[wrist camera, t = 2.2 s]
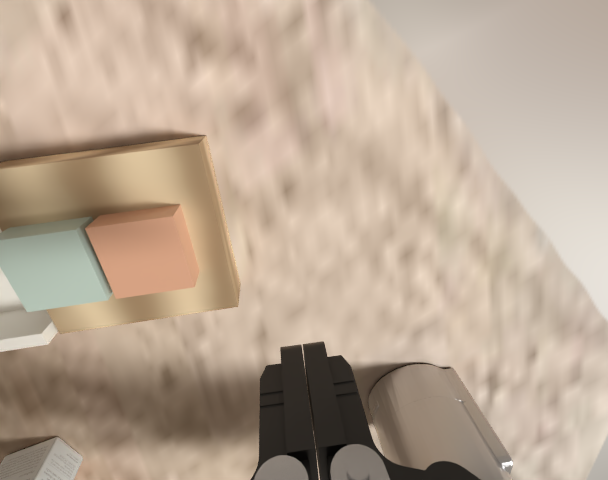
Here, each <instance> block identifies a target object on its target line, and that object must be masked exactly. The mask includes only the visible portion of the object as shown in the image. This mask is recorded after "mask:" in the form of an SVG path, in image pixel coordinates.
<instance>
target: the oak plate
mask: <svg viewBox="0 0 608 480" xmlns="http://www.w3.org/2000/svg"><path fill="white" fill-rule="evenodd" d="M178 204H181V208H182V211H183V215H184V218H185V221H186V225H187V228H188V232H189V235H190V239H191V242H192V246H193V249H194V253H195V256H196V259H197V263H198V266H199V270H200V272H199V275H198V279H197V282H196V285H195V287H193V288H186V289H180V290H173V291H166V292H160V293H153V294H146V295H140V296H133V297H126V298H120V299H116V298H115V296H114V293H113V294H112V295H111V297H110V298H109V300H106V301H100V302H93V303H86V304H80V305H73V306H66V307H60V308H53V309H46V310H47V312H48V314H49V315H50V317H51V319H52V321H53V322H54V324H55V326H56V328H57V330H58V331H59V333H60V334H63V333H70V332H76V331H83V330H89V329H96V328H102V327H109V326H115V325H122V324H128V323H135V322H141V321H148V320H154V319H161V318H167V317H174V316H180V315H187V314H193V313H200V312H206V311H213V310H219V309H226V308H232V307H238V303H239V293H240V280H239V276H238V272H237V267H236V263H235V259H234V254H233V250H232V245H231V241H230V237H229V232H228V228H227V224H226V219H225V215H224V211H223V206H222V202H221V198H220V193H219V189H218V185H217V180H216V176H215V171H214V167H213V163H212V158H211V154H210V150H209V145H208V141H207V137H206V136H199V137H191V138H183V139H175V140H167V141H159V142H151V143H144V144H136V145H128V146H120V147H112V148H104V149H96V150H89V151H81V152H73V153H65V154H57V155H49V156H41V157H34V158H26V159H18V160H10V161H4V162H1V163H0V229H1V231H2V232H3V231H4V230H6V229H8V228H11V227H18V226H25V225H33V224H40V223H47V222H54V221H62V220H69V219H76V218H84V217H91V216H92V218H93V221H94V220H95V219H96V218H97V217H98V216H100V215H106V214H113V213H120V212H127V211H135V210H142V209H149V208H157V207H164V206H171V205H178Z"/></svg>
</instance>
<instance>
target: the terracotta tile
mask: <svg viewBox="0 0 608 480" xmlns="http://www.w3.org/2000/svg"><path fill="white" fill-rule="evenodd" d="M85 230H86V232H87V234H88V237H89V239H90V241H91V243H92V246H93V248H94V250H95V252H96V255H97V257H98V259H99V262H100V264H101V266H102V268H103V271H104V273H105V275H106V277H107V280H108V282H109V284H110V286H111V289H112V291H113V293H114V296H115V298H116V299H120V298H126V297H133V296H140V295H146V294H153V293H160V292H166V291H173V290H180V289H186V288H193V287H195V285H196V282H197V279H198V275H199V272H200V270H199V266H198V263H197V259H196V256H195V253H194V249H193V246H192V242H191V239H190V235H189V232H188V228H187V225H186V221H185V218H184V215H183V211H182V208H181V204H178V205H171V206H164V207H157V208H149V209H142V210H135V211H127V212H120V213H113V214H106V215H100V216H98V217H97V218H96V219H95V220H94V221H93V222H92V223H90V224H89V225H88V226H87V227H86V228H85Z"/></svg>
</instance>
